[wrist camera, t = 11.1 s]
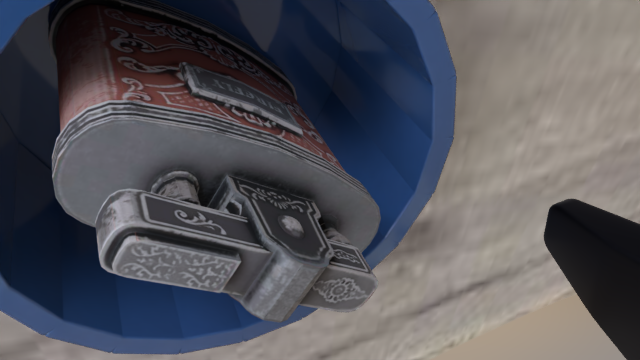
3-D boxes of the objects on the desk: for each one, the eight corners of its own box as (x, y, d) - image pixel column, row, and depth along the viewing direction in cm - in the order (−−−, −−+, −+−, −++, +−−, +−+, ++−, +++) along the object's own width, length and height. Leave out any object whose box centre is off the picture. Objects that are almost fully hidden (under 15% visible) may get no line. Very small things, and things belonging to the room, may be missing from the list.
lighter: (307, 68, 20) (459, 264, 13) (260, 144, 21) (374, 363, 14) (74, -43, 15) (105, 165, 8) (30, 62, 17) (23, 327, 9)
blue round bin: (332, -199, 16) (469, -163, 11) (362, 148, 24) (449, 261, 19) (-150, -100, 14) (-265, 5, 8) (64, 249, 22) (72, 410, 17)
